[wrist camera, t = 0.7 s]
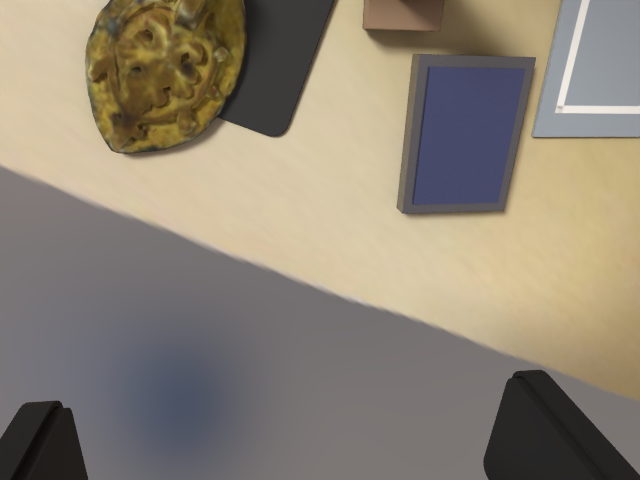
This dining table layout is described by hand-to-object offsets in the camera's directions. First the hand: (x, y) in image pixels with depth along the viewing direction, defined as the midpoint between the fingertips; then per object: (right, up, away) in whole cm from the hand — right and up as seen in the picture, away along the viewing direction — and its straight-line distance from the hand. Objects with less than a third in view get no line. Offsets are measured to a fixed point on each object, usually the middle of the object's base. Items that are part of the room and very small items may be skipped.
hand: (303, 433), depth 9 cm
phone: (-3, +20, +20) cm, 28 cm away
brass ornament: (-10, +17, +20) cm, 28 cm away
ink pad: (+11, +13, +25) cm, 31 cm away
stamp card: (+24, +19, +24) cm, 39 cm away
